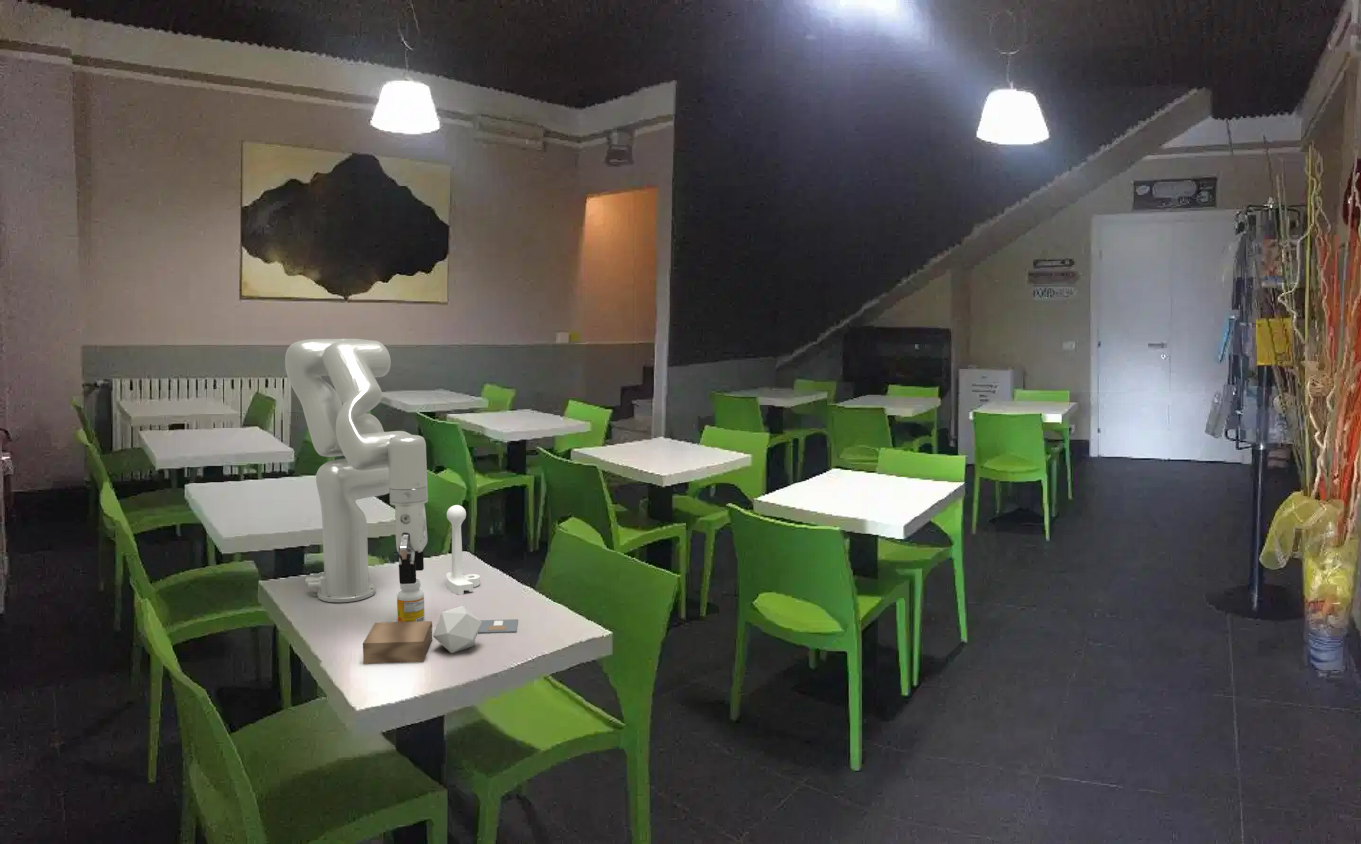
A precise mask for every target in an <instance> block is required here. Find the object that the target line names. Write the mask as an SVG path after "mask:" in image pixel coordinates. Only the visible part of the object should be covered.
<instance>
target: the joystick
mask: <svg viewBox="0 0 1361 844" xmlns="http://www.w3.org/2000/svg"><path fill="white" fill-rule="evenodd" d="M466 517H467V512H466V509H465V508H464V507H463V506H462V505H459V504H455V505H452V506H450V507H449V508H448V509H447V511H446V519H447V520H448V521H449V522H450V523H451V572H447V573H446V576H445V577H446V587H447V589H448V590H449V591H450V592H451V593H454V594H455V595H459V596H462V595H464V594H465V593H464V591H466V592H473V591H474V589H473V588H477V587H479V585H480V584H481V576H480V574H475V573H474V574H473V573H469V574H464V567H463V563H464V562H463V545H462V544H463V543H462V542H463V541H462V524H463V522H464V521H465V520H466Z"/></svg>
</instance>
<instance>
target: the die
mask: <svg viewBox="0 0 1361 844" xmlns="http://www.w3.org/2000/svg"><path fill="white" fill-rule="evenodd" d="M480 620H481V619H479V618H478V617H477V616H476V615H474V614H473V613H472V612H471V611H470V610H469V609H468V608H466V607H465V606H464V605H461V606H457V607H453V608H451V609H447V610H444V611H441V614H440V615H439V619H438V621H437V624H436V626H435V629H434V632H433V633H432V638H433V639H435V640H436V641H437V642H438V643H440V644H441V646H443V647H444V648H445V649H446V650H447V651H448V652H450V653H451V654H454V653H458V652H459V651H463V650H465V649H468V648H471V647H474V643H475V641H476V638H477V636H478V631H479V628H480V626H481V623H482V622H481V621H480Z"/></svg>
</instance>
